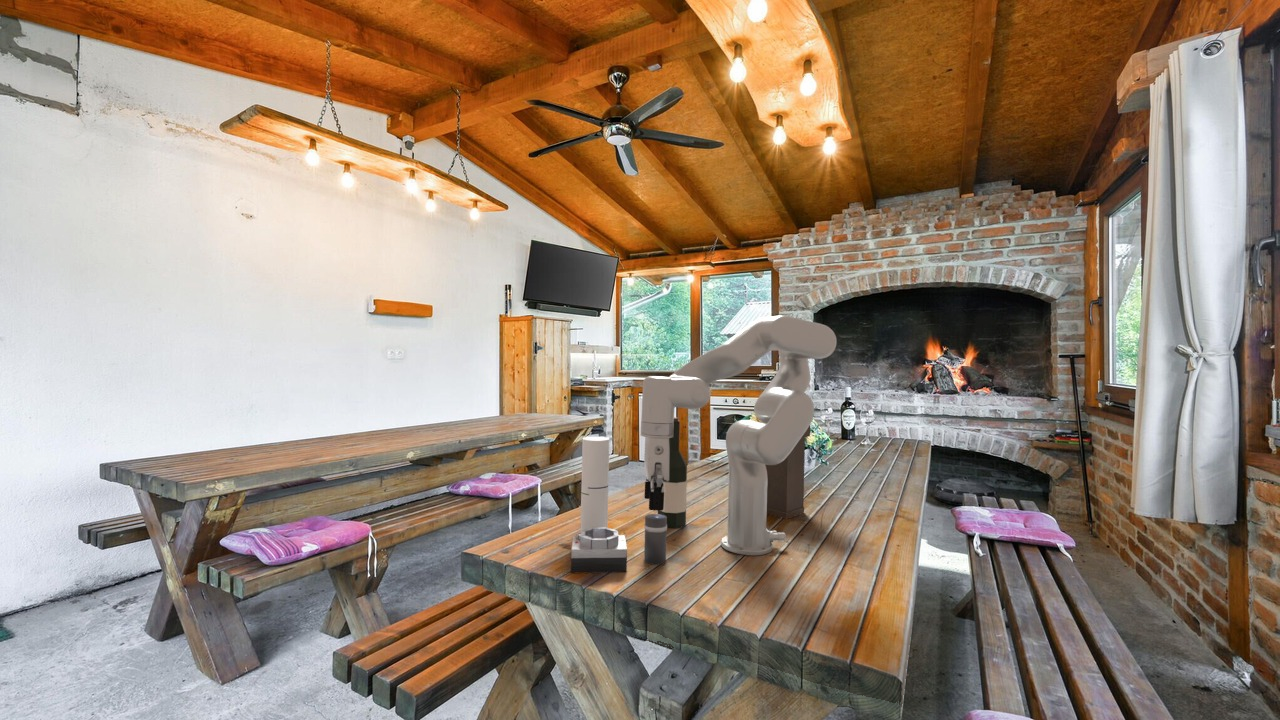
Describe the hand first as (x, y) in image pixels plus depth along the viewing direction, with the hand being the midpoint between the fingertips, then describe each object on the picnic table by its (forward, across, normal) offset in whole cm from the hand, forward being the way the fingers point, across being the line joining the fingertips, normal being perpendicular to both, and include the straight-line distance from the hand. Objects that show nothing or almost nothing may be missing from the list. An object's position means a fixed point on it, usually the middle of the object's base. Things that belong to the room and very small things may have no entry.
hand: (653, 504), depth 122 cm
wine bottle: (+13, +27, -9) cm, 31 cm away
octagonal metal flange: (+13, -2, +12) cm, 18 cm away
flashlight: (+13, 0, -1) cm, 13 cm away
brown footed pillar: (+12, +41, -43) cm, 61 cm away
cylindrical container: (+14, +20, +13) cm, 28 cm away
